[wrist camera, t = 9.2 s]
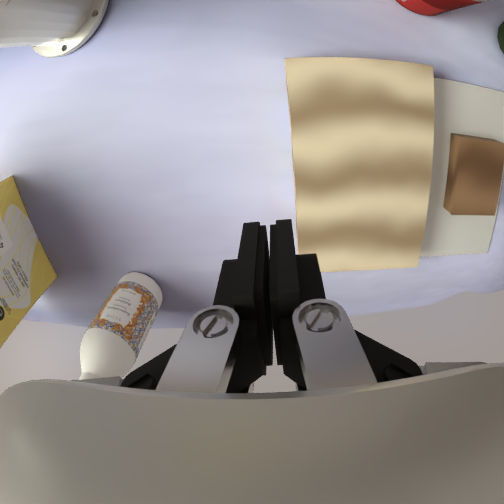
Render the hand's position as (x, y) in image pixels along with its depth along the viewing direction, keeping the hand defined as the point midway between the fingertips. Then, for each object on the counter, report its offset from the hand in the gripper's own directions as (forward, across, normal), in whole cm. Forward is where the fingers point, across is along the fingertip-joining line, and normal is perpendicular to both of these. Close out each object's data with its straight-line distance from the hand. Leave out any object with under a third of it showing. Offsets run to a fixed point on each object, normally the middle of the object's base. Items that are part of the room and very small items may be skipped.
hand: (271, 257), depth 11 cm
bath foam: (+23, +20, +19) cm, 36 cm away
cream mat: (+22, -23, +5) cm, 32 cm away
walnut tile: (+19, -24, +4) cm, 30 cm away
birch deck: (+22, -9, +3) cm, 24 cm away
